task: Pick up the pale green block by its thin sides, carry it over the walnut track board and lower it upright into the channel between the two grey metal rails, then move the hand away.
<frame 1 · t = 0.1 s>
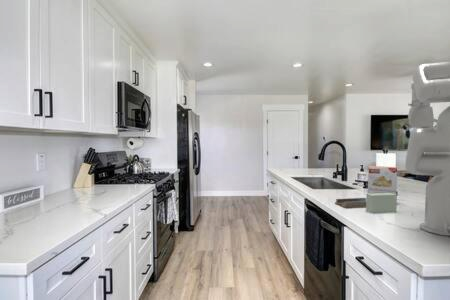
hand: (419, 138, 130), 37 cm above the counter, tool pointing down, fingers open, 9 cm apart
cracker box: (381, 202, 149), on the counter
door track: (355, 205, 141), on the counter
pale green block: (381, 211, 129), on the counter
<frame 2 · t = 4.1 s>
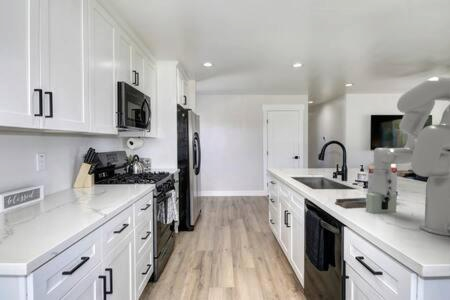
hand: (381, 207, 129), 2 cm above the counter, tool pointing down, fingers closed on pale green block, 4 cm apart
pale green block: (380, 211, 129), on the counter, touching gripper
everything else where it was.
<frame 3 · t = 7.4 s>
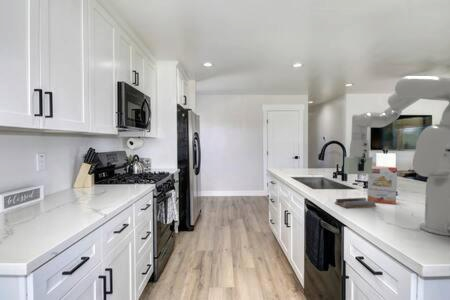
hand: (357, 170, 140), 20 cm above the counter, tool pointing down, fingers closed on pale green block, 4 cm apart
pale green block: (357, 173, 140), point 18 cm above the counter, touching gripper
everything else where it was.
when the fingers open (4 cm above the counter, at t = 10.8 s): pale green block stays where it is, resting on door track.
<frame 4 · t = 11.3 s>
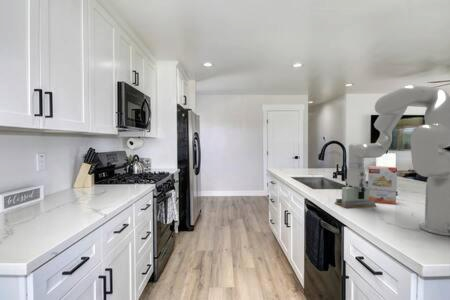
hand: (355, 196, 141), 5 cm above the counter, tool pointing down, fingers open, 9 cm apart
pale green block: (355, 203, 141), point 1 cm above the counter, touching door track
everything else where it was.
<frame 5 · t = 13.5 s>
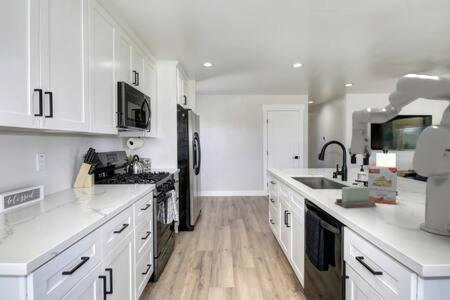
hand: (359, 164, 139), 23 cm above the counter, tool pointing down, fingers open, 9 cm apart
nothing on the counter moved.
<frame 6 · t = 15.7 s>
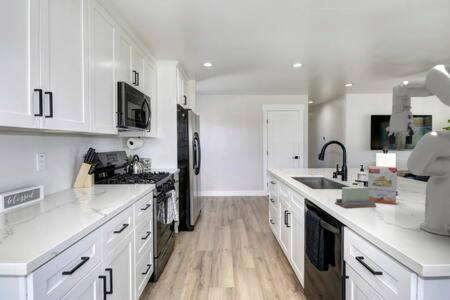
hand: (400, 144, 127), 34 cm above the counter, tool pointing down, fingers open, 9 cm apart
nothing on the counter moved.
at the end: pale green block 0.1 cm off-centre on the door track, point 1.0 cm above the door track's base; pale green block tilted 0°; the gripper is holding nothing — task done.
